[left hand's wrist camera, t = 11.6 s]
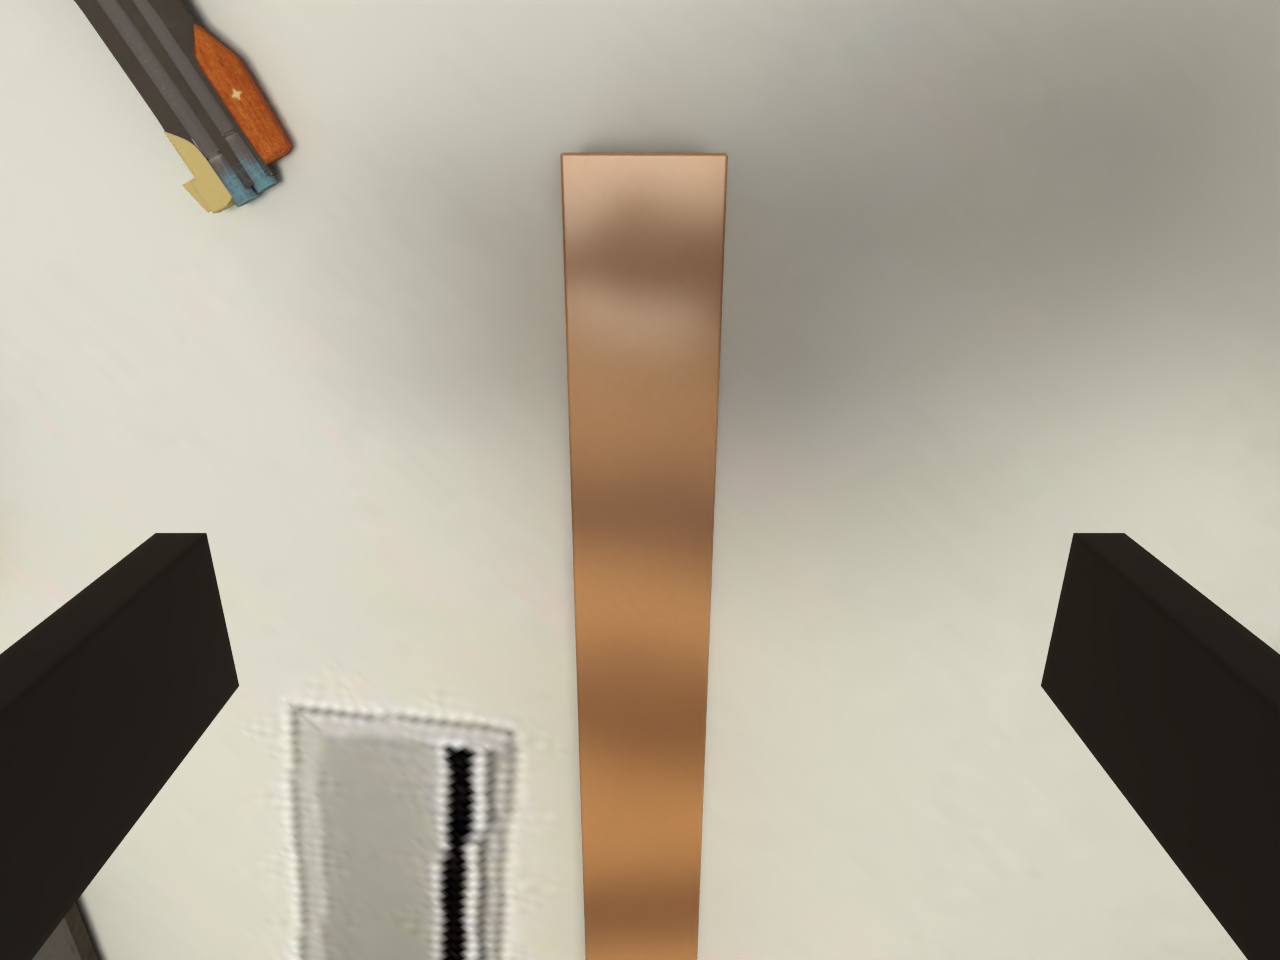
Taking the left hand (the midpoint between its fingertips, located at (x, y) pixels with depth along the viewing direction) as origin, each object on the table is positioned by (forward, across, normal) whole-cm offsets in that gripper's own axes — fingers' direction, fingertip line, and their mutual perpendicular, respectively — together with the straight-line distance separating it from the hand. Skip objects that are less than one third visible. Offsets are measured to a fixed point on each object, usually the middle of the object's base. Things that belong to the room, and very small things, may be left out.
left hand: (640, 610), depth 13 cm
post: (+25, 0, -26) cm, 36 cm away
